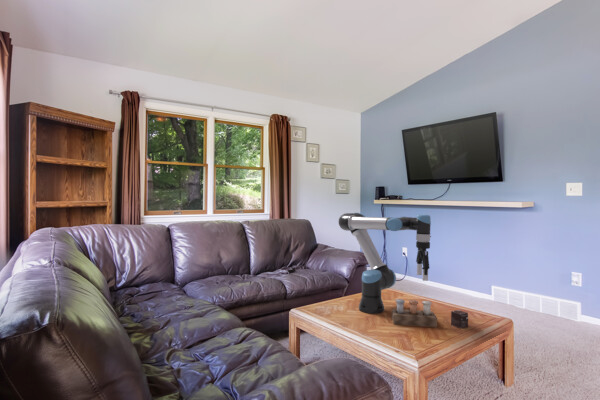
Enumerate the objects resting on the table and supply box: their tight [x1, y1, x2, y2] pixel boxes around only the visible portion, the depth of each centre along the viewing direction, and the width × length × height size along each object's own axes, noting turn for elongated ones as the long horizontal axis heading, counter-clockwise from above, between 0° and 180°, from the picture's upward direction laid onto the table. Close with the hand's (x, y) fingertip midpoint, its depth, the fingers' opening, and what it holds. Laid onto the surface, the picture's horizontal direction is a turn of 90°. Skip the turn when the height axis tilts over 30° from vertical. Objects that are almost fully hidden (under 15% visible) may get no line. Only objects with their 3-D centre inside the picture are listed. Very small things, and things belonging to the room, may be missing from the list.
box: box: [450, 309, 469, 329], centre depth 177 cm, size 6×6×7 cm
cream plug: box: [421, 300, 432, 315], centre depth 180 cm, size 5×5×8 cm
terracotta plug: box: [408, 299, 419, 315], centre depth 181 cm, size 5×5×8 cm
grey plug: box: [395, 298, 406, 314], centre depth 183 cm, size 5×5×8 cm
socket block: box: [391, 308, 438, 328], centre depth 181 cm, size 22×11×5 cm, turn 79°
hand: (422, 277), depth 193 cm, fingers open, 13 cm apart
